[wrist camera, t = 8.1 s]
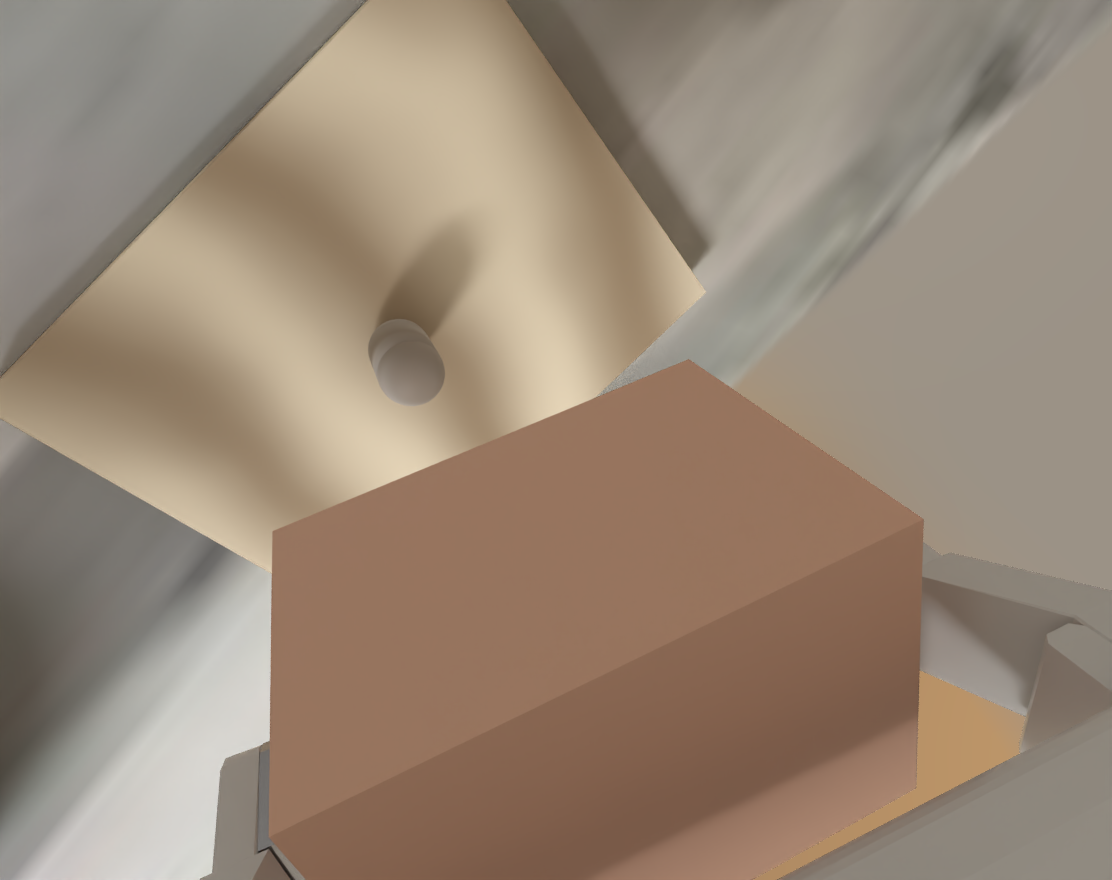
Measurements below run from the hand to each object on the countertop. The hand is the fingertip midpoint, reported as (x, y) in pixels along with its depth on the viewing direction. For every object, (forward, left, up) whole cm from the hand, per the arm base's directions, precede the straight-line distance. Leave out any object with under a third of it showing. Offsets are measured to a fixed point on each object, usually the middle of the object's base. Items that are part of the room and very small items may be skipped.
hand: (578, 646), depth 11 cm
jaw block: (0, 0, -2) cm, 2 cm away
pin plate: (0, +1, -15) cm, 15 cm away
